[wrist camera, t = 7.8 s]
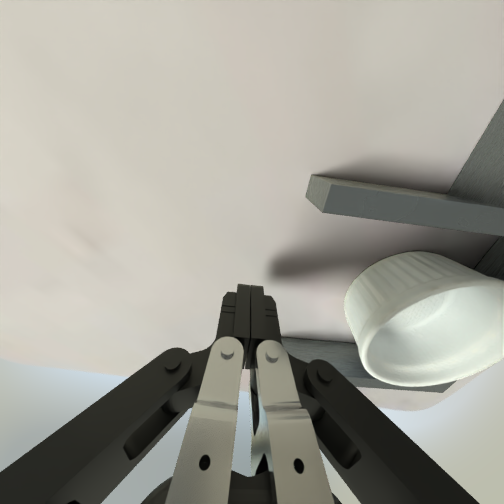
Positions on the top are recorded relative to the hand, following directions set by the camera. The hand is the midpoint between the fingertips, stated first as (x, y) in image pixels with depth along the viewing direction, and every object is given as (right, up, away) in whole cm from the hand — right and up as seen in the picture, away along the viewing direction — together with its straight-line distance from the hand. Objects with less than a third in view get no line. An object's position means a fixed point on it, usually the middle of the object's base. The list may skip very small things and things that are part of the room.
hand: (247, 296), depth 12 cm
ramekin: (+11, 0, +3) cm, 12 cm away
